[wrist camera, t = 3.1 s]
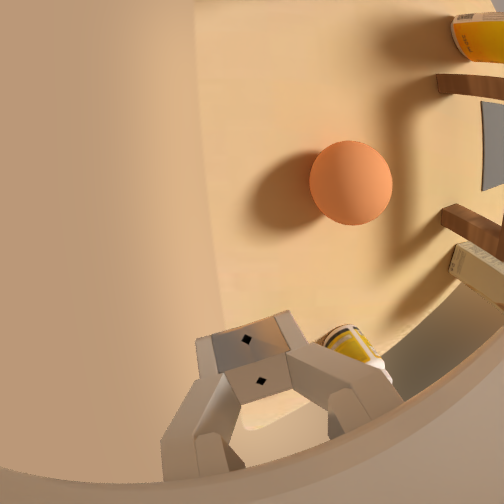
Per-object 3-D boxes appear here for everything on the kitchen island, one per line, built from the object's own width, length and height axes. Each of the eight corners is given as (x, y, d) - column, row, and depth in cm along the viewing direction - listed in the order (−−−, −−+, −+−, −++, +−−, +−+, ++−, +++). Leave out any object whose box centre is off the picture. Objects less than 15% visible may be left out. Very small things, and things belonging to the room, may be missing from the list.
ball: (290, 144, 19) (329, 154, 14) (357, 132, 20) (407, 141, 15) (302, 218, 22) (339, 250, 17) (363, 200, 23) (408, 225, 18)
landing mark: (481, 101, 21) (482, 101, 21) (513, 106, 22) (513, 106, 22) (481, 190, 26) (482, 191, 26) (512, 179, 28) (513, 179, 28)
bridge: (441, 224, 27) (503, 262, 18) (436, 74, 18) (515, 79, 10) (455, 218, 27) (514, 253, 19) (451, 76, 19) (525, 84, 10)
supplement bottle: (316, 355, 30) (347, 410, 23) (330, 324, 29) (368, 381, 21) (348, 351, 32) (382, 400, 24) (363, 321, 30) (403, 371, 23)
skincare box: (446, 272, 31) (508, 322, 20) (455, 242, 29) (523, 290, 18) (469, 265, 32) (524, 309, 22) (477, 239, 30) (537, 280, 20)
